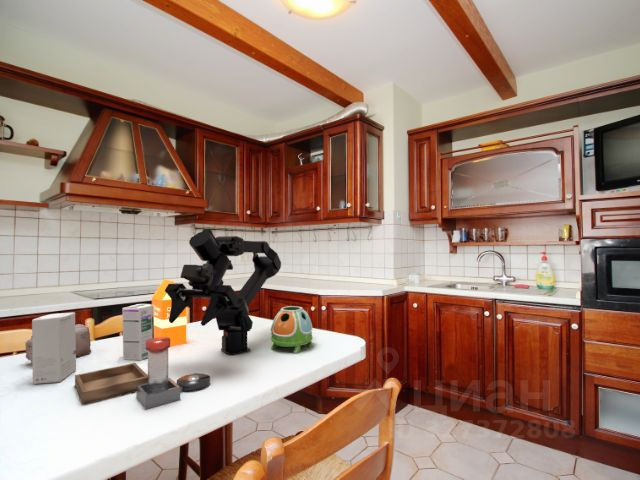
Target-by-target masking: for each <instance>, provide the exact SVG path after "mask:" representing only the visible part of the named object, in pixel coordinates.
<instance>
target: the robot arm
mask: <svg viewBox="0 0 640 480" xmlns="http://www.w3.org/2000/svg"><path fill="white" fill-rule="evenodd" d="M188 242H189V246H190V247H191V249H193V251H194V252H195V254H196V255H197V256H198V258H199V259H200V260H201V261H202V262H205V263H203V264H202V265H201V264H200V265H198V264H183V266H182V269H181V274H180V279H185V280H186V281H188V283H187V284H188V285H189V286H190V287H191V288H187V287H186V286H185V284H184V283H177V282H175V283H170V284H168V286H167V287H166V289H165V292H166V293H167V294H168V296H169V297H170V298H171V310H170V316H169V322H170V323H173V322H174V321H175V320H176V319H177V318H178V316H179V315H180V314H181V313H182V312H183V310H184V309H185V308H186V309H187V307H188V303H189V302H190V300H191V299H192V298H198V299H199V298H201V299H210V301H209V304H208V306H207V308H206V310H205V312H204V314H203V316H202V319H201V321H200V325H201V326H203V327H204V326H205V325H207V324H208V323H210V322H211V321H213V320H214V319H215V320H216V324H217V328H218V331H222V332H223V333H222V336H221V348H220V351H222V352H223V353H226V354H228V355H231V356H232V355H233V356H234V355H236V354H237V355H238V354H240V353H245V352H250V351H251V348H249V347H248V332H251V330H252V328H253V320H252V319H251V317H250V316H249V315H250V313H249V306H250V305H251V304H252V302H253V300H254V299H255V297H256V296H257V295H258V293H259V291H260V290H261V289H262V288H263V286H264V285H265V283H266V281H267V280H269V279H270V278H272V277H275V276H276V275H277V274H278V273H279V272H280V270H281V269H282V268H281V267H282V262H281V258H280V257H279V255H278V253H277V252H276V251H275V249H272V248H271V247H270V245H269V242H268V241H265V240H264V241H262V240H257V241H256V240H254V241H252V240H244V239H243V238H242V237H240V236H237V235H232V236H228V235H225V236H224V235H221V236H216V237H215V235H214V233H213V231H212V229H211V228H203V229H202V231H200V232H198V233H195V234H194V235H193V236H192V237H191V238H190V239H189V241H188ZM244 253H252V255H253V256H252V258H251V259H252V263H253V267H254V270H253V273H252V274H251V275H250V277H249V278H248V279H247V280H246V282H245V283H244V284H243V285H242V287H241V289H240V290H239V291H238V293H236V292H235V290H234V288H233V287H232V285H231V284H230V285H229V284H224V282H225V281H224V280H223V278H224V276H225V274H226V273H227V270H228V271H232V270H234V266H233V264H232V260H230V258H229V257H238V256H241V255H244ZM259 254H264V255H263V256H261V255H260V256H259Z"/></svg>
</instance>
